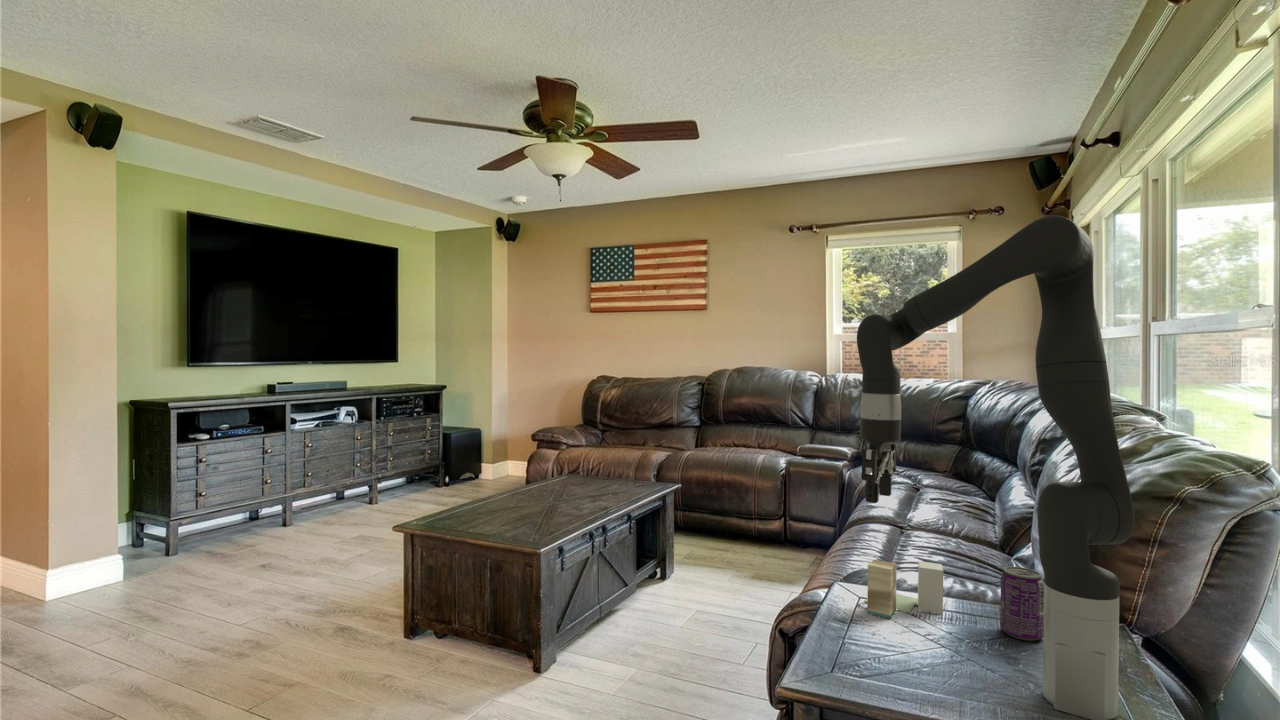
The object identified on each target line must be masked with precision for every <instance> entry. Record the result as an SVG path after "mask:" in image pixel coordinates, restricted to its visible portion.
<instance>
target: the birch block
mask: <svg viewBox="0 0 1280 720" xmlns="http://www.w3.org/2000/svg"><path fill="white" fill-rule="evenodd" d="M897 571H898V567H897V563H894V562H889V561H884V560H878V559H872V560H871V562H869V563H868V565H867V598H868V599H867V598H866V599H867V603H866V604H867V605H866V606H867V607H866V608H867V609H866V610H867V611H866V614H867V613H868V614H867V615H870V614H872V615H871V616H874V615H876V616H875V617H878V616H880V617H879V618H882V617H884V618H883V619H886V618H887V619H886V620H890V619H893V617H894V616H895V615H896V613H897V610H896V594H897V575H898V574H897V573H898V572H897ZM895 612H896V613H895ZM893 615H894V616H893ZM892 616H893V617H892Z"/></svg>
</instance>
